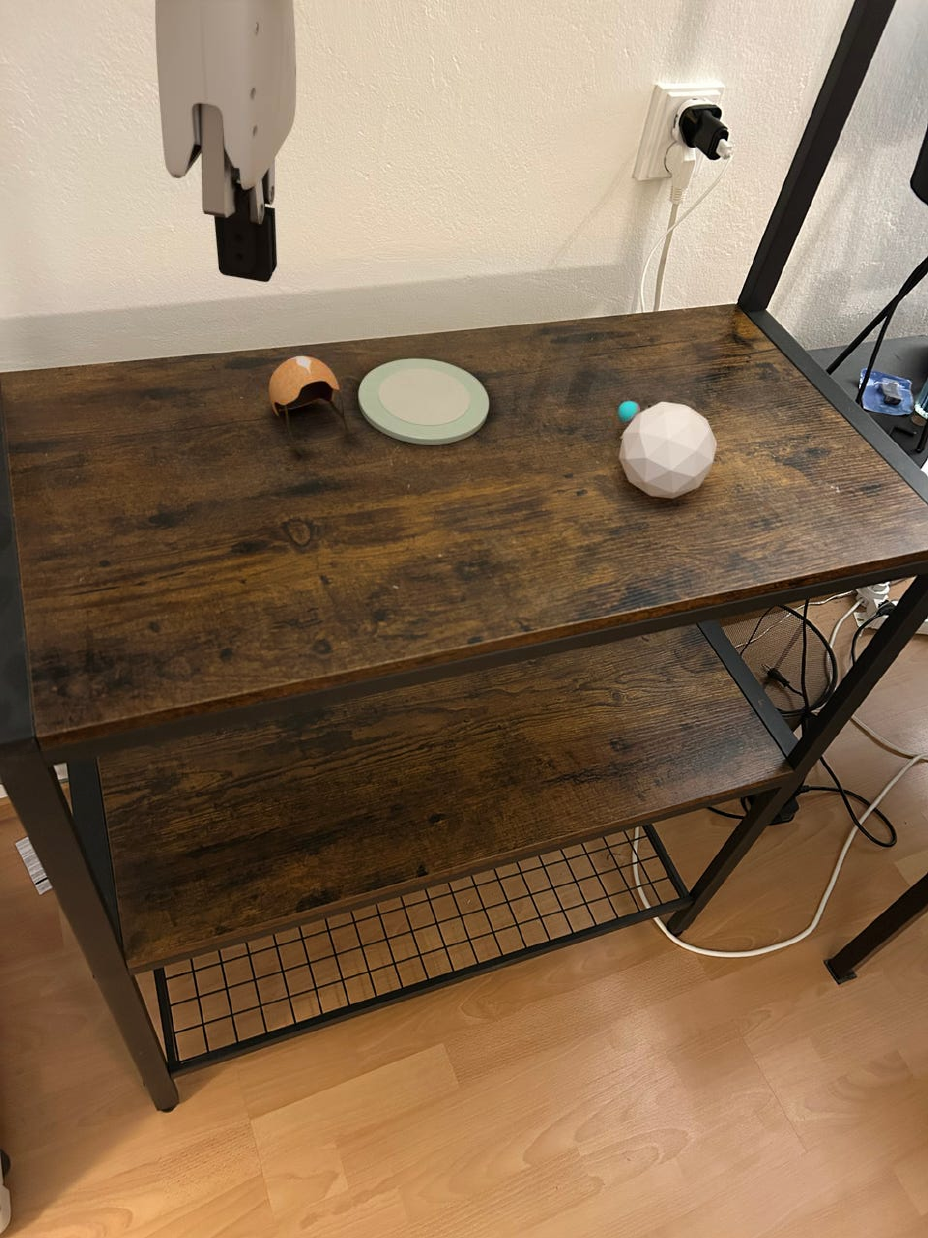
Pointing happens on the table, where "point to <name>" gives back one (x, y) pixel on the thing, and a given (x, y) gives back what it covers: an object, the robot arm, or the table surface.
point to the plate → (423, 401)
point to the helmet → (302, 386)
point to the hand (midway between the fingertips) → (248, 271)
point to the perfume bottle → (665, 448)
